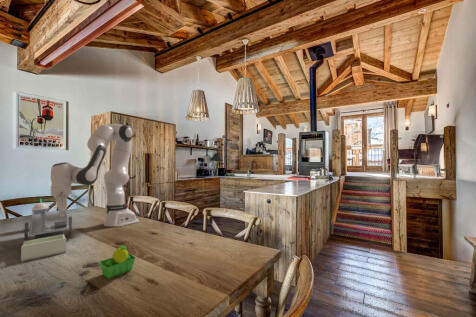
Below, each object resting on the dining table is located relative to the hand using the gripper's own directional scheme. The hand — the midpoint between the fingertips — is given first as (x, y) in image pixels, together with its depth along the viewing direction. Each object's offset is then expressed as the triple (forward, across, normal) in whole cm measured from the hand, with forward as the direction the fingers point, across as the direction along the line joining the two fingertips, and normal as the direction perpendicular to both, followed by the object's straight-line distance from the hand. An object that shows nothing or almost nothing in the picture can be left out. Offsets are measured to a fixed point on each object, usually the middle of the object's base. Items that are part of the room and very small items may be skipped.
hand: (61, 216), depth 120 cm
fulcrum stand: (+14, +10, +6) cm, 18 cm away
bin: (+14, -13, +7) cm, 20 cm away
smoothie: (+14, +38, +10) cm, 42 cm away
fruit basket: (+14, -59, -15) cm, 62 cm away
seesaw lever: (+4, +10, +5) cm, 12 cm away
